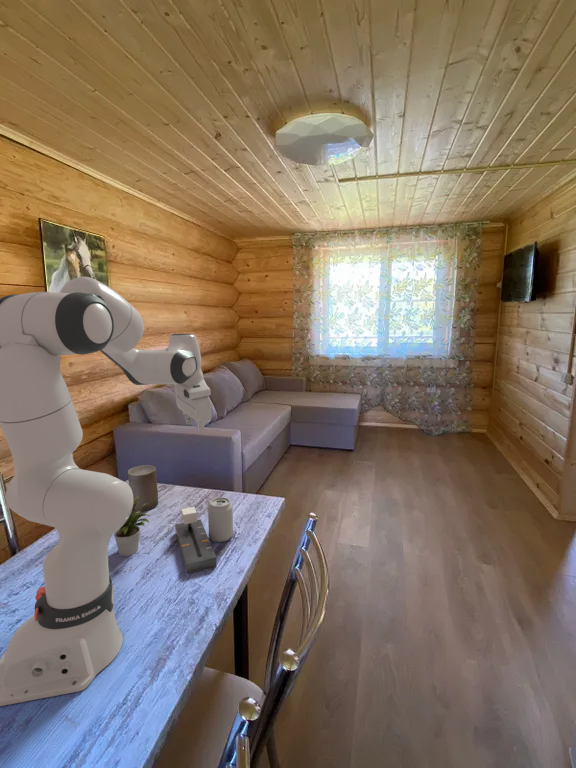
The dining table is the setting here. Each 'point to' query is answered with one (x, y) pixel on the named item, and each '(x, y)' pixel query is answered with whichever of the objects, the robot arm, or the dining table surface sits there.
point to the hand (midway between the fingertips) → (195, 428)
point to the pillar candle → (144, 486)
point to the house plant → (130, 532)
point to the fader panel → (195, 547)
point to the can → (220, 519)
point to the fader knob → (189, 515)
